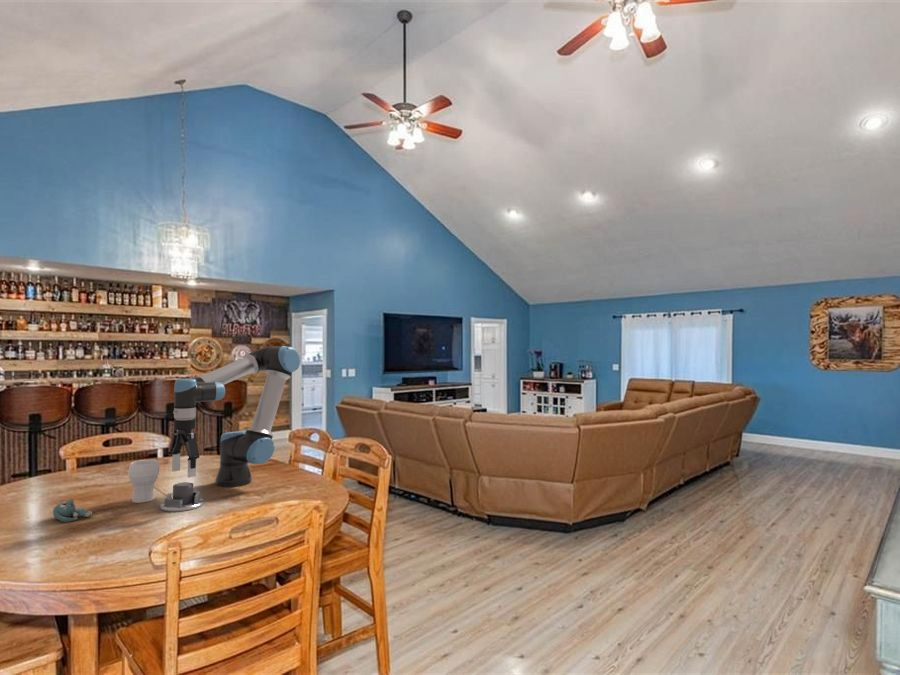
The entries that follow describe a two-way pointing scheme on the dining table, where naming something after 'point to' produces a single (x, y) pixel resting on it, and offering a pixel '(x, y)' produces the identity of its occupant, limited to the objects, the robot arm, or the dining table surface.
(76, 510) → the stuffed animal
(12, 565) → the dining table surface
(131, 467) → the cup
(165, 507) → the grey stand base
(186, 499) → the gray cube
